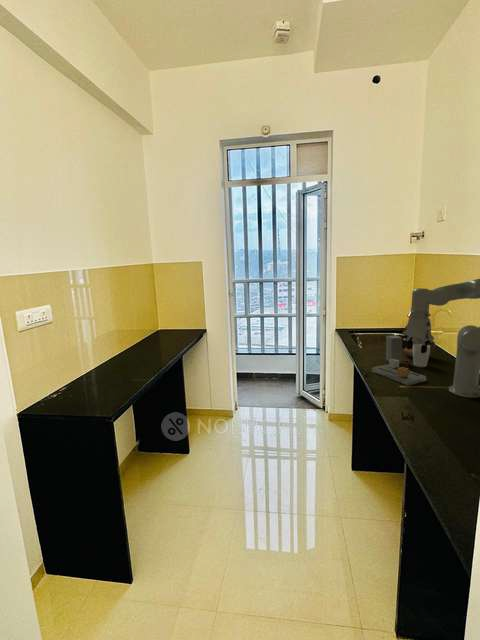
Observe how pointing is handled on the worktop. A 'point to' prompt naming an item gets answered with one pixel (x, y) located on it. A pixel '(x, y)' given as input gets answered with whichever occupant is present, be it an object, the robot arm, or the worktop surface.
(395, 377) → the console
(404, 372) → the fader orange
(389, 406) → the worktop surface
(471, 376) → the robot arm
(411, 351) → the ceramic jug
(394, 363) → the fader white
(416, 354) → the cup
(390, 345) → the skincare box
